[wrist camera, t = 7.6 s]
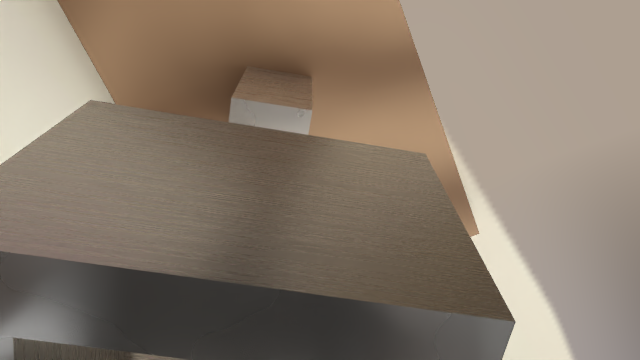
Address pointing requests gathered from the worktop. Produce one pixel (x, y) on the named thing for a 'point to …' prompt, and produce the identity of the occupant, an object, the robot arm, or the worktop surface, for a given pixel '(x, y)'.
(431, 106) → the walnut base
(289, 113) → the square post
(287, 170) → the hollow metal block
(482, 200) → the worktop surface
